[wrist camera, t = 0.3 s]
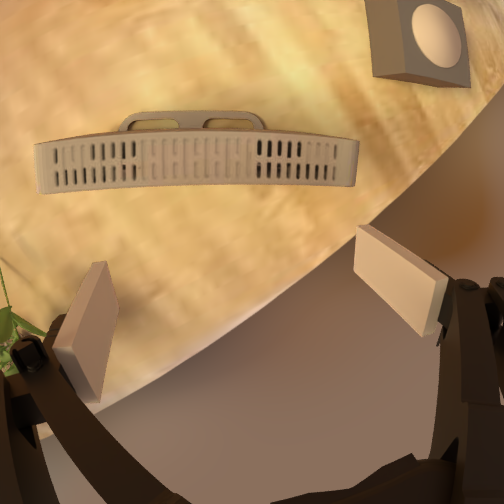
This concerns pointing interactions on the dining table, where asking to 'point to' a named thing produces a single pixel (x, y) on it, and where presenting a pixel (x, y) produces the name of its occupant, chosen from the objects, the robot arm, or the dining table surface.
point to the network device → (193, 156)
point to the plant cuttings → (11, 333)
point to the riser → (418, 42)
